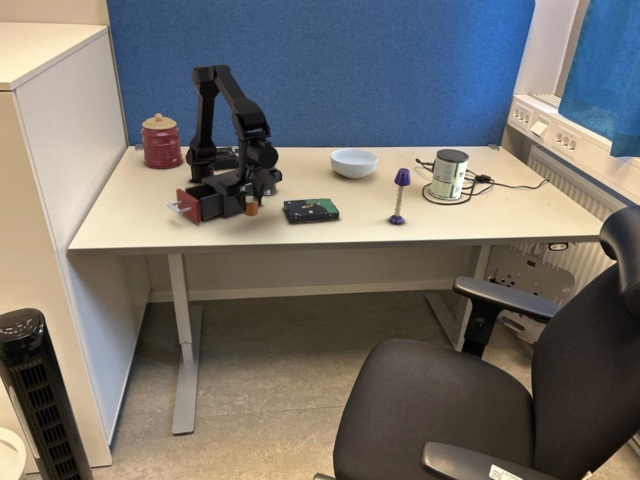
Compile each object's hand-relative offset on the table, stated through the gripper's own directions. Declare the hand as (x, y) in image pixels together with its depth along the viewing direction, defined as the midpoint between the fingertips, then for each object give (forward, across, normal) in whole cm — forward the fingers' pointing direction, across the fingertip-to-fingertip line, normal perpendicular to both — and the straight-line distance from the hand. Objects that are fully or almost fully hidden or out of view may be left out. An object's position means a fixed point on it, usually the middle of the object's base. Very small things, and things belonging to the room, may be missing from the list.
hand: (250, 209), depth 131 cm
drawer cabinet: (+5, +3, +13) cm, 14 cm away
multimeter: (+5, +25, +42) cm, 49 cm away
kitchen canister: (+5, +4, +56) cm, 56 cm away
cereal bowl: (+5, +51, +8) cm, 52 cm away
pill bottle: (+5, +17, +14) cm, 23 cm away
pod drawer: (+4, -8, +13) cm, 16 cm away
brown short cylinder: (+1, 0, 0) cm, 1 cm away
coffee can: (+5, +64, -23) cm, 69 cm away
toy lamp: (+5, +34, -25) cm, 43 cm away
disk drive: (+5, +18, -6) cm, 19 cm away
